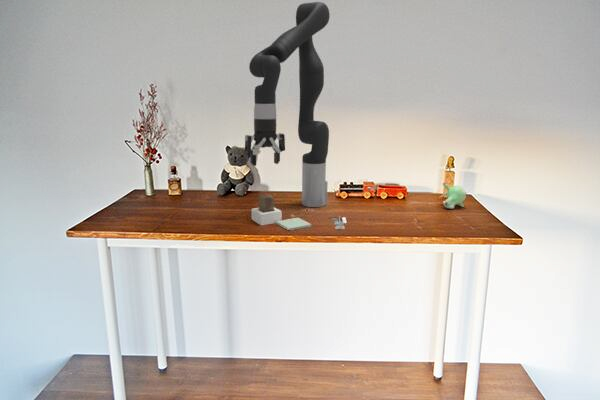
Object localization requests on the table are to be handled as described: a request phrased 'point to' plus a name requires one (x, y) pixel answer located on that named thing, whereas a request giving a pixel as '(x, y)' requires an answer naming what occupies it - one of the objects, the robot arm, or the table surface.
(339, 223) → the grey eared piece
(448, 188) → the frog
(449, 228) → the table surface
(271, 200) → the walnut block
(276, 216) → the pocket holder
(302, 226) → the green mat
